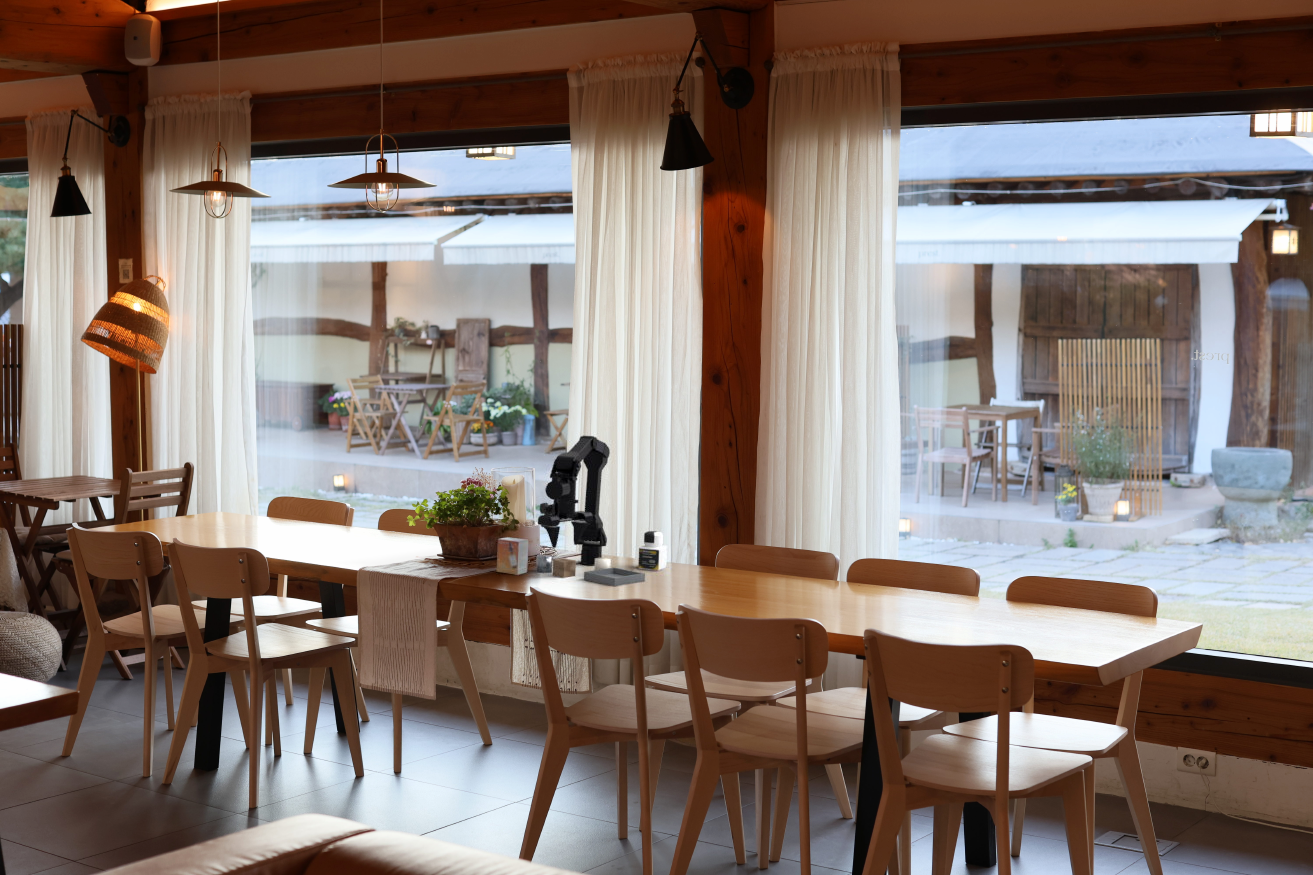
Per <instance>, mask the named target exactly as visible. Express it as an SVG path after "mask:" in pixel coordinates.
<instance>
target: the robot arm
mask: <svg viewBox="0 0 1313 875" xmlns="http://www.w3.org/2000/svg"><path fill="white" fill-rule="evenodd" d="M610 454H611V453H610V448H609V445H607V443H606V442H604V441H601V440H600V439H598V438H597V437H596V436H594V435H581V436H580V437H579V439H578V441H577V442H576V443H575V444H574V446H572V447H571V449H569V450H568V451H567V452H563V453H560V454H559V455H557V456H556V458H555V459H554V461H553V464H552V467H551V472H550V474H549V478H550V479H551V481H550V482H548V483H547V484H546V487H545V491H544V492H545V494H546V496H547V497H548V498H549V499H550V500H553V503H552V504H549V503H548V502H542V503H540V504H539V512H540V514H541V515H539V516H538V518H537V525H540V527H541V528H544V529H545V531H546V532H547V535H548V537H549V540H550V544H551V547H552V548H554V549H555V548H557V545H558V541H559V540H558V539H559V535H560V531H561V530H560V529H561V526H559V525H560V523H564V522H566V523H567V522H570V523H571V525H572V527H573V545H575V546H580V545H581V550H580V560H579V561H577V563H578V564H583V565H587V566H595V558H603V557H602V555H603V554H602V553H603V552H602V551H603V550H602V549H603V547H606V546H607V543H608V537H607V535H606V532H605V530H604V523H603V520H602V519H601V516H600V503H601V502H600V501H601V500H600V498H601V487H602V486H601V485H602V474H603V473H602V472H603V471H604V470H603V469H605V467H606V465H607V464H608V459H609V457H610ZM582 462H583V464H584V465H585V468H586V470H587V472H586V486H585V500H584V510H577V511H576V504H579V499H576V495H577V494H576V493H577V491H576V490H577V480H578V476H579V474H580V471H581V468H582V464H581V463H582Z"/></svg>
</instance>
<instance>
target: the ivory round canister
mask: <svg viewBox="0 0 1313 875" xmlns="http://www.w3.org/2000/svg"><path fill="white" fill-rule="evenodd" d="M611 560H612V559H611V558H609V557H602V558H595V565H594V569H593V570H600V569H606V568H612V564H611V563H612V562H611Z"/></svg>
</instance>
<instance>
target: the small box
mask: <svg viewBox="0 0 1313 875" xmlns="http://www.w3.org/2000/svg"><path fill="white" fill-rule="evenodd" d="M528 551H529V539H526V538H525V539H524V538H515V537H510V536H509V537H502V538H497V554H496V555H497V556H496V558H497V559H496V572H498V573H505V574H510V575H515V576H518V575H523V574H526V573H527V572H528V563H529V562H528V559H529V558H528V557H529V556H528V554H529V552H528Z"/></svg>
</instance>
